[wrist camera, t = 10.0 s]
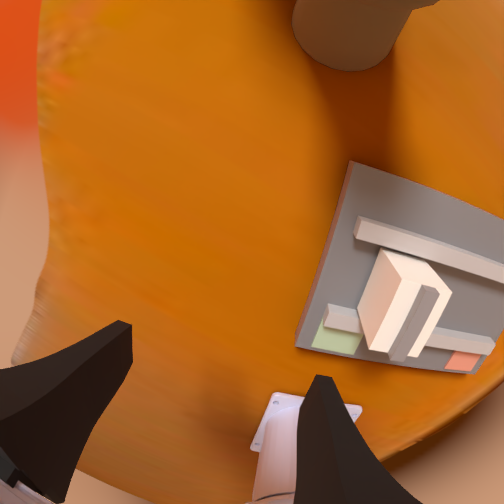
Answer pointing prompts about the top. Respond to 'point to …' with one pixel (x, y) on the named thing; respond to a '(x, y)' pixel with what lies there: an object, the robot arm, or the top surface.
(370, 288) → the block
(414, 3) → the pepper mill
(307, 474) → the robot arm
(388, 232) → the switch panel
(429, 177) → the top surface
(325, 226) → the top surface
